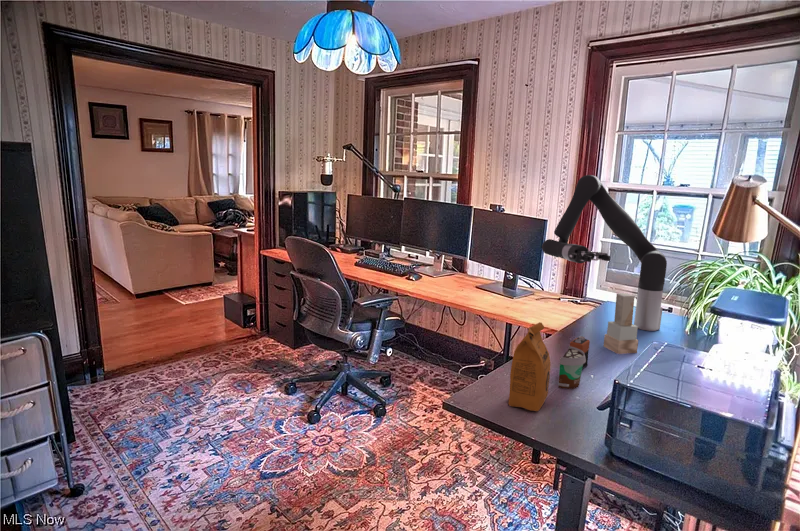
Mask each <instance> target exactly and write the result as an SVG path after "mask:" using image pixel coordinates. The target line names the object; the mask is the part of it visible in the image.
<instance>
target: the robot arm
mask: <svg viewBox="0 0 800 531" xmlns="http://www.w3.org/2000/svg"><path fill="white" fill-rule="evenodd" d="M589 201H590V202H591V203H592V204H593V205H594V206H595V207H596V208H597V210H598V212H599V214H600V216H601V217H602V219H603V220H604V222H605V224H606V225H607V226H608V228H609V229H610V230H611V231H612V232H613V234H614V235H615V236H616V237H617V238H619V240H620V241H622V242H623V243H624V244H625V245H626V246H628V247H629V248H630V249H631V251H632V252H633V253H634V254H635V255H636V257H637V259H638V260H639V262H640V272H639V279H638V288H637V297H636V303H635V314H634V321H633V323H634V324H633V325H635V326H638V330H643V331H648V332H649V331H650V332H651V331H652V332H656V331H658V330H661V325H662V324H661V322H662V315H663V309H664V308H663V307H662V300H663V292H664V286H665V281H666V272H667V267H668V263H667V262H668V261H667V258H666V256H665V255H664V254H663V253H662V252H661V251H660V250H658V248H656V247H655V246H654V245H653V244H652V242H650V240H648V238H647V237H646V236H645V234H644V233H643V231H642V229H641V228H640V227H639V225H638V224H637V222H636V221H635V220H634V219H633V218H632V216H631V215H630V214H629V213H628V212H627V211H626V210H625V208H623V206H621V204H619V203H618V202H617V201H616V200H615V199H614V198H613V196H611V195H610V193H609V192H608V191H607V189H606V188H605V186H604V185H603V182H602V181H601V180H600V178H598V177H597V175H593V174H586V175H584V176H581V177H580V178H579V179H578V181H577V183H576V186H575V189H574V192H573V196H572V198H571V200H570V202H569V205H568V206H567V208H566V209H565V211H564V213H563V214H562V216H561V218H560V220H559V222H558V224H557V225H556V227H555V229H554V231H553V232H554V235H555V236H556V237H558V241H557V240H555V239H550V238H548V239H546V240H544V241H543V242H542V245H541V251H542V253H543V254H546V255H549V256H551V257H554V258H560V259H563V260H567V261H569V262H573V263H576V264H584V263H586V262H588V263H591V262H592V261H596V262H597V261H604V262H605V261H606V262H610V261H611V255H609V254H608V253H606V252H602V251H592V250H589V249H588V247H587V246H585V245H580V244H577V243H569V239H570V236H571V234H572V233H573V231H574V229H575V227H576V225H577V223H578V222H579V218H580V217H581V214H582V212H583V210H584V209H585V206H586V205H587V203H588V202H589Z"/></svg>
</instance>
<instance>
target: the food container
mask: <svg viewBox="0 0 800 531" xmlns="http://www.w3.org/2000/svg"><path fill="white" fill-rule="evenodd" d="M567 348H568V349H567V351H566V352H564V354H563V355H562V356H560V358H559V363H558V364H559V368H558V369H559V370H558V373H559V374H558V383H557V384H558V386H557V388H558V389H562V390H563V389H564V390H574V389H575V390H576V389H577V388H579V386H580V382H581V376H582V372H583V369H582V367H583V364H584V363H585V362H586V358H585V354H584V352H583V351H582V350H580V349H578V348H575V347H571V346H570V345H568V347H567Z"/></svg>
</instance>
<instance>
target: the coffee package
mask: <svg viewBox="0 0 800 531" xmlns="http://www.w3.org/2000/svg"><path fill="white" fill-rule="evenodd" d="M544 329H545V325H544V324H543V323H542V322H538V323H536V324H534V325H532V326H529V327H528V331H527V333H526V335H525V336H524V337H523V338H522V340H521V341H520V342H519V343H518V344H517V346H516V347H515V350H514V352H513V356H512V361H511V367H510V374H509V394H508V403H507V404H508V406H510V407H512V408H514V407H515V408H522V409H524V410H527V411H530V412H531V411H535V412H538V411H540V410H541V408H542V406H543V405H544V403H545V402H546V399H547V397H548V395H549V386H550V385H549V384H550V378H551V377H550V374H551V364H552V363H551V358H550V357H551V356H550V352H549V351H548V348H547V346H546V344H545V343H544V341H543V338H542V332H541V331H543V330H544Z"/></svg>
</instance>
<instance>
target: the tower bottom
mask: <svg viewBox="0 0 800 531" xmlns="http://www.w3.org/2000/svg"><path fill="white" fill-rule="evenodd" d="M603 337H604V339H603V348H606V349H608V350H609V351H611V352H613V353H615V354H617V355H625V354H637V353H638V349H639V348H638V347H639V339H637V338H636V340H623V341H619V340H617V339H615V338H613V337H611V336H609V335H607V333H604V336H603Z"/></svg>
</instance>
